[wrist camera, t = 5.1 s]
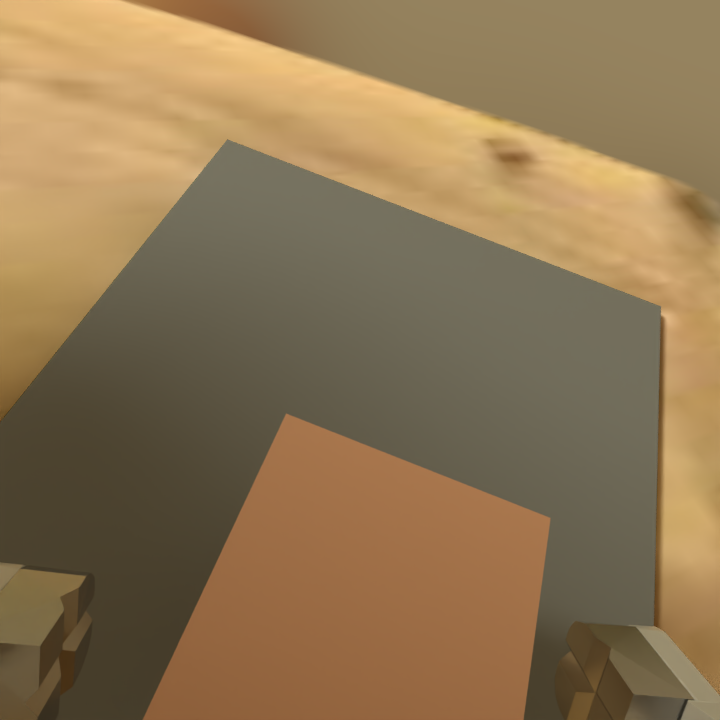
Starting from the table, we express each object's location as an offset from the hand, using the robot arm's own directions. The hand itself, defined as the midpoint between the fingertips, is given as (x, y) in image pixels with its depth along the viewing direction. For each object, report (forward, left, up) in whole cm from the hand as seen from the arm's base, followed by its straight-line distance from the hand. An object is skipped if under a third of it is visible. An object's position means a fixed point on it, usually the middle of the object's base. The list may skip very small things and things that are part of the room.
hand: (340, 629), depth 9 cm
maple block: (0, 0, -5) cm, 5 cm away
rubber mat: (-1, +6, -5) cm, 8 cm away
